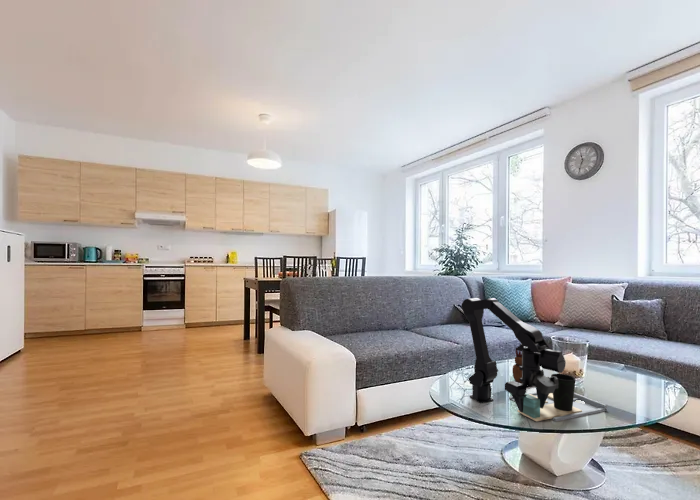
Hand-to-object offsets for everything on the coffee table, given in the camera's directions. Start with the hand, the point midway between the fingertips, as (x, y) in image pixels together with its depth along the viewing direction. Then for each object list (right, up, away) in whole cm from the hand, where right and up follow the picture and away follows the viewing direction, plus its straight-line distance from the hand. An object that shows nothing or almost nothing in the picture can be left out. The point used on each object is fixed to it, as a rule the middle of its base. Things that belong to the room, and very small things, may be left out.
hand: (531, 410), depth 129 cm
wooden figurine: (+13, -3, +36) cm, 38 cm away
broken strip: (+13, -2, +15) cm, 20 cm away
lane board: (+15, -3, +11) cm, 18 cm away
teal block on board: (+8, -2, +3) cm, 9 cm away
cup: (+14, -2, +5) cm, 15 cm away
